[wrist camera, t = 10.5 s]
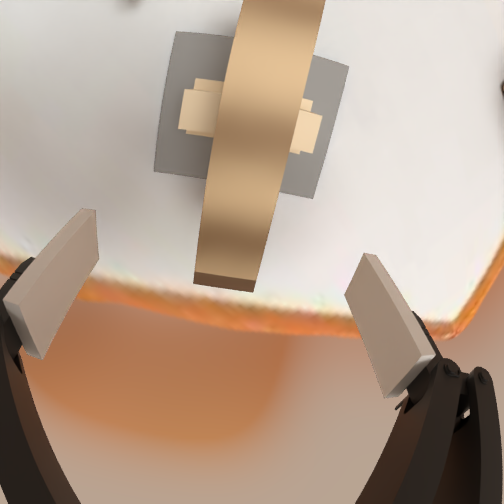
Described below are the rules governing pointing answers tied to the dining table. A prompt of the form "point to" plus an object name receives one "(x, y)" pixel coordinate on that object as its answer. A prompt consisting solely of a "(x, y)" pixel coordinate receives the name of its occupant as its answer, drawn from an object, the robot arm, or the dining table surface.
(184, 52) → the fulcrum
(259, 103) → the oak bar
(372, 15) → the dining table surface
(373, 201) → the dining table surface
